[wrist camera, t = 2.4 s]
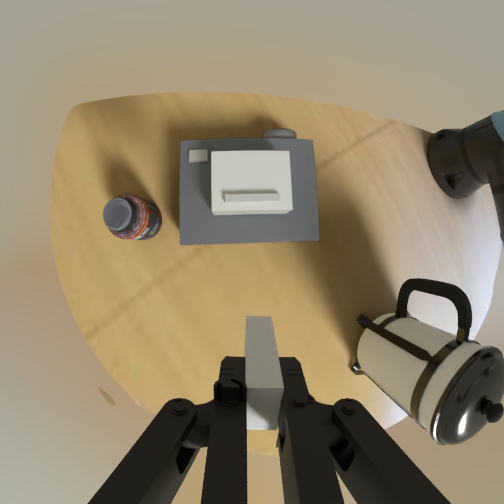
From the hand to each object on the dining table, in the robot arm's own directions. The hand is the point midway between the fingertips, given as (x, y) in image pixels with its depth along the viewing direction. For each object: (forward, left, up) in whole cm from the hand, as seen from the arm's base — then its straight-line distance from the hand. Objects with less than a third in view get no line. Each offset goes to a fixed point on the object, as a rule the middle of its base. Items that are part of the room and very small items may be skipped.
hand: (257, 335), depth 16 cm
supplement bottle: (+15, -10, -26) cm, 31 cm away
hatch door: (-1, -13, -18) cm, 22 cm away
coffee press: (-24, +11, -26) cm, 37 cm away
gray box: (-1, -14, -25) cm, 29 cm away
